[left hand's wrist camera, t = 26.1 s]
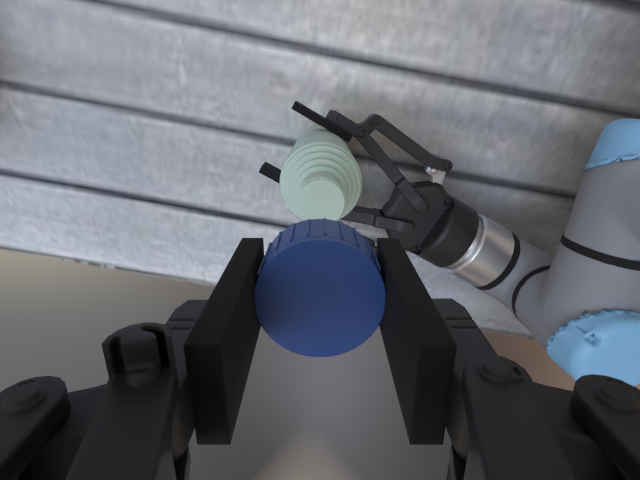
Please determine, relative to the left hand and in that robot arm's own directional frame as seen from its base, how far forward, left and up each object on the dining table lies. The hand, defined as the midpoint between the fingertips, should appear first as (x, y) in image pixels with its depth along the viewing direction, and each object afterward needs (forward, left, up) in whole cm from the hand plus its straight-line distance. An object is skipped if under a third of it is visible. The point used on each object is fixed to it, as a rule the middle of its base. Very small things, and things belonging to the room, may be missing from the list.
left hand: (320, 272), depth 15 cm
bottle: (0, 0, -35) cm, 35 cm away
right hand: (-5, -1, -28) cm, 28 cm away
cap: (0, 0, +2) cm, 2 cm away
